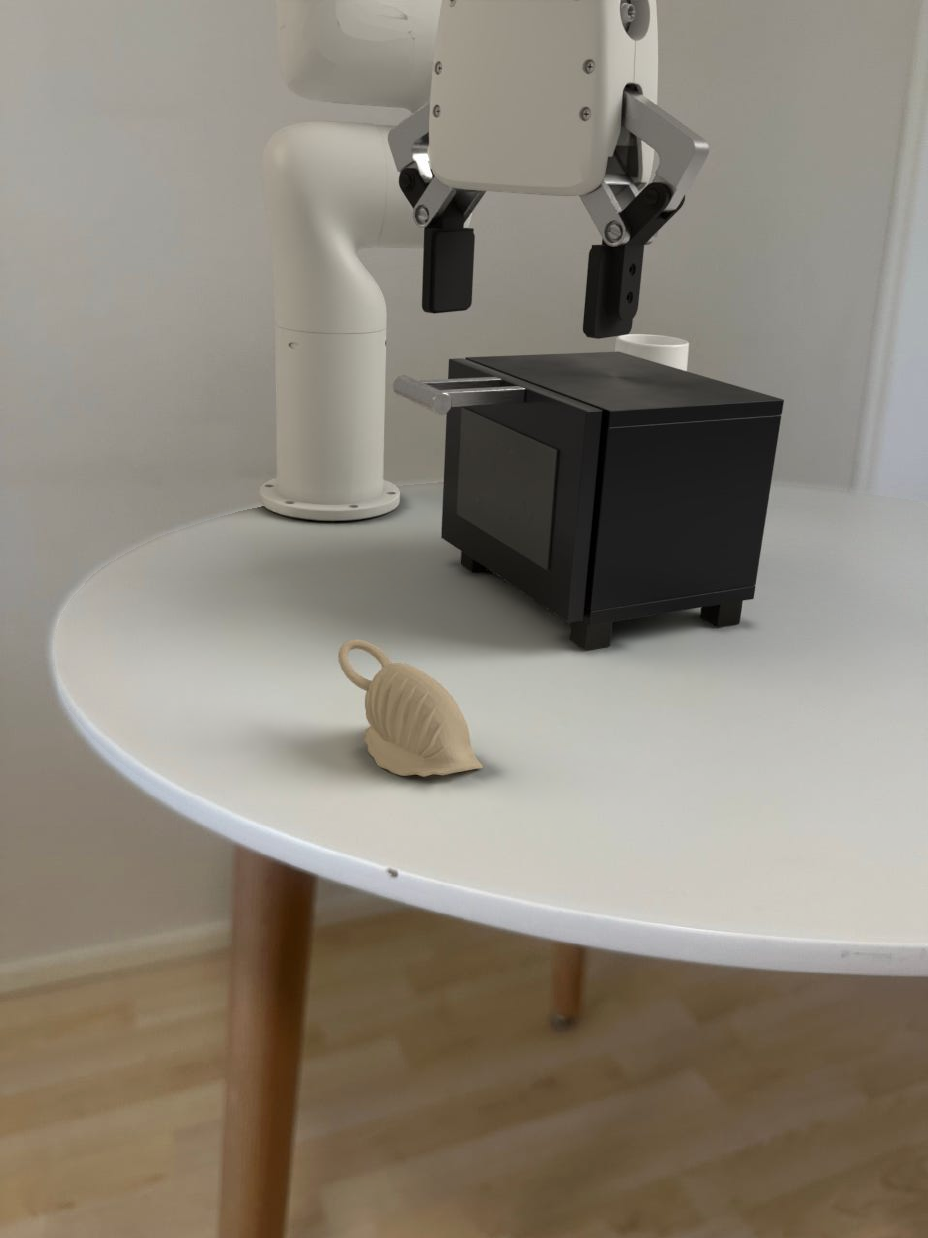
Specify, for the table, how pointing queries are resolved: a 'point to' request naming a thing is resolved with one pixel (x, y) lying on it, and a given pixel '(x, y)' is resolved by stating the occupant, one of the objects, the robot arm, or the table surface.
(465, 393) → the oven door
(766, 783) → the table surface
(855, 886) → the table surface
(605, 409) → the oven
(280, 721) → the table surface
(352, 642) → the decorative ornament
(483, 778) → the table surface
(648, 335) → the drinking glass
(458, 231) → the robot arm
